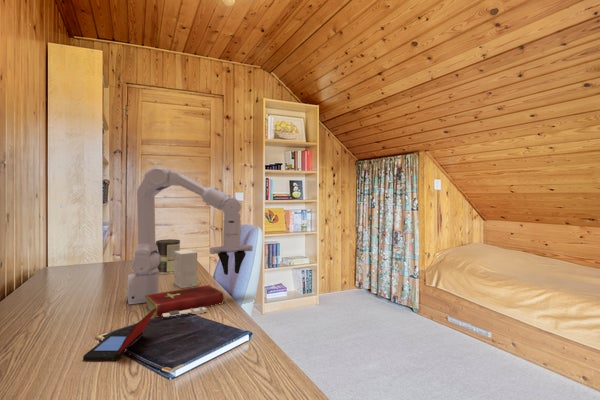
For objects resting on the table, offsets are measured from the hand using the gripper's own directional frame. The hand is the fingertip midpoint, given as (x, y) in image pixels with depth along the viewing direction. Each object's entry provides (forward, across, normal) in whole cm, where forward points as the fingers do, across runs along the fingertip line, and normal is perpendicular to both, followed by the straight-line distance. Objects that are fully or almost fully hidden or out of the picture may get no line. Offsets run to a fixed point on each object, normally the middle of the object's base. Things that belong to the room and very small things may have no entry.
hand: (231, 273), depth 111 cm
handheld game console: (+9, -34, -23) cm, 42 cm away
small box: (+9, -10, +24) cm, 27 cm away
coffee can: (+9, -12, +51) cm, 53 cm away
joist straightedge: (+8, -17, -9) cm, 21 cm away
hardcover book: (+9, -15, 0) cm, 18 cm away
